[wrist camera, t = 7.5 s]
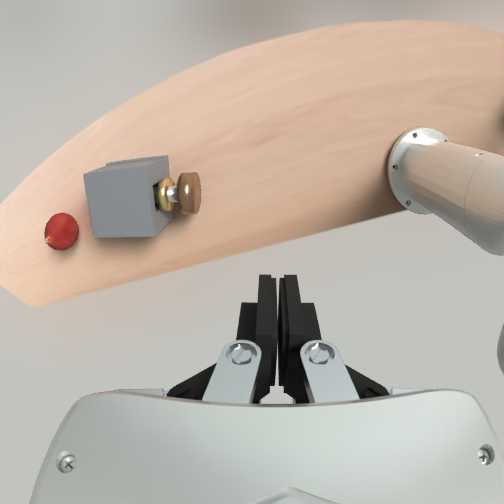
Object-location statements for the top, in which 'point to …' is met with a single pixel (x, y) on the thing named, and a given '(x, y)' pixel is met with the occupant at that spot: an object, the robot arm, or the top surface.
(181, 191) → the shaft
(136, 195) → the housing
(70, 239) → the onion
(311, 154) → the top surface
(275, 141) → the top surface
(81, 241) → the top surface
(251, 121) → the top surface
